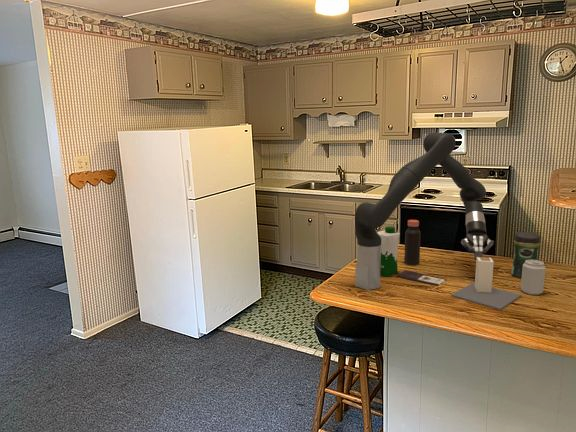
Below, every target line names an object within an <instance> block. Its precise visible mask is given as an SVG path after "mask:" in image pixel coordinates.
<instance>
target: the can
mask: <svg viewBox="0 0 576 432" xmlns="http://www.w3.org/2000/svg"><path fill="white" fill-rule="evenodd" d="M545 276H546V266H545V263H544V261H541V260H539V259H537V260H526V261H525V263H524V264H523V268H522V278H521V282H520V291H522V292H523V293H524V294H527V295H530V296H538V295H541V294H543V293H544V288H545V287H544V286H545Z"/></svg>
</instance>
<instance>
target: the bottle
mask: <svg viewBox="0 0 576 432" xmlns="http://www.w3.org/2000/svg"><path fill="white" fill-rule="evenodd" d="M419 225H420V221H419V220H417V219H408V220H407V227H408V228H407V229H406V230H405V232H404V256H403V257H404V258H403V259H404V262H403V263H404V264H405V265H407V266H418V265H420V259H421V258H420V257H421V238H422V237H421V236H422V235H421V231H420V229H419V227H420V226H419Z"/></svg>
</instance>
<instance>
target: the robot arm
mask: <svg viewBox="0 0 576 432" xmlns="http://www.w3.org/2000/svg"><path fill="white" fill-rule="evenodd" d="M422 145H423V149H424V151H425V152H426V153H424V154H423V155H421V156H419V157H417V158H414V159H413V160H411V161H409V162H407V163H406V164H404V165H403V166H402V167H400V169H399V170H398V171H397V172H396V173H395V174H394V175H393V176H392V178H391V180H390V183H389V185H388V190H387V192H386V194H384V196H383V197H382V198H381V199H380V200H379V201H378V202H376V203H371V202H362V203H360V204H359V205H358V206H357V208H356V209H355V213H354V228H355V231H354V234H355V238H356V240H357V241H356V242H357V243H356V245H357V248H356V250H357V251H356V253H357V254H356V263H355V278H354V279H355V281H354V282H355V283H354V285H355V287H356V288H358V289H359V288H360V289H363V290H365V291H369V290H376V289H379V288H380V287H381V278H382V275H381V237H380V236H379V235H378V233H377V232H378V231H377V230H378V229H380V228H381V227H382V226H384V225H385V223H386V222H387V221H388V219H389V218H390V217H391V216H392V215H393V213H394V211H395V210H396V209H397V208H398V207H399V205H400V204H401V203H402V202H403V201H404V200H405V199H406V198H407V197H408V196H409V195H410V194H411V193H412V192H413V191H414V189H416V187H418V185H419V184H421V182H422V181H423V180H424V179H425V178H426V177H427V176H428V174H430V173H431V172H432V170H434V168H435V167H437V166H438V165H439V166H440V167H441V168H442V169H444V171H445V172H446V173H447V175H449V177H450V179H451V180H452V181H453V182H454V184H455V185H456V186H457V188H458V189H460V190H459V196H460V199H461V201H462V203H463V207H464V211H465V228H466V229H465V230H466V236H465V238H462V239H461V241H460V244H461V245H462V247H464V248H465V249H466V250H467V251H468V252H469V253H473V255H474V256H473V257H474V261H475V262H476V259H477V257H484V256H483V254H487V252H488V251H489V250H490V249H491V247H493V245H494V243H495V241H494V240H492V239H490V238H489V236H488V235H487V226H486V225H487V224H486V218H485V215H484V214H485V213H484V205H483V204H482V203H481V201H478V200H483V199H484V198H485V197H486V195H487V190H486V188H485V186H484V185H483V184H482V183H481V182H480V181H478V180H477V179H475V177H473V176H472V175H471V174H470V172H469V170H468V169H467V168H466V166H464V165H463V164H462V163H461V162H460V161H458V160H457V159H455V157H453V156H452V155H451V154H452V152H453V151H454V150H455V146H456V137H455V136H454V135H453V134H452V133H447V132H430V133H428V134H426V135H425V137H424V138H423V142H422ZM376 229H377V230H376ZM485 244H487V245H486V246H485V247H484V245H485Z"/></svg>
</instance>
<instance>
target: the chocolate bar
mask: <svg viewBox="0 0 576 432" xmlns="http://www.w3.org/2000/svg"><path fill="white" fill-rule="evenodd" d="M395 278H399V279H403V280H408V281H413V282H417V283H421V284H424V285H431V286H433V287H434V286H435V287H439V286H440V285H442V284H443V283H444V282H446V281H447V278H444V277H439V276H435V275H434V276H433V275H430V274H429V275H428V274H425V273H419V272H415V271H411V270H403V271H402V272H400V273H398V274H395Z"/></svg>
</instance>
